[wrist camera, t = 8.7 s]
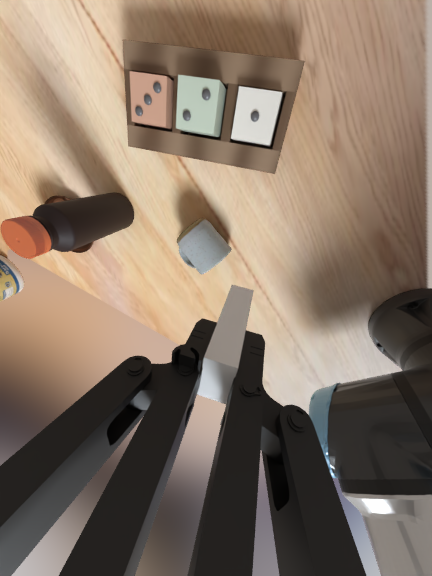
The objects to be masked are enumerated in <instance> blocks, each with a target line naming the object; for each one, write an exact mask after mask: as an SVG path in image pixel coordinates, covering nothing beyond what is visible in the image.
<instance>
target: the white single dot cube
mask: <svg viewBox="0 0 432 576" xmlns="http://www.w3.org/2000/svg"><path fill="white" fill-rule="evenodd" d="M281 102H282V92H278V91H270V90H263V89H256V88H249V87H241V86H239V91H238V97H237V103H236V110H235V116H234V122H233V129H232V135H231V139H233V140H235V141H239V142H245V143H251V144H256V145H262V146H268V147H271V143H272V139H273V135H274V131H275V127H276V123H277V118H278V114H279V110H280V106H281Z"/></svg>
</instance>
